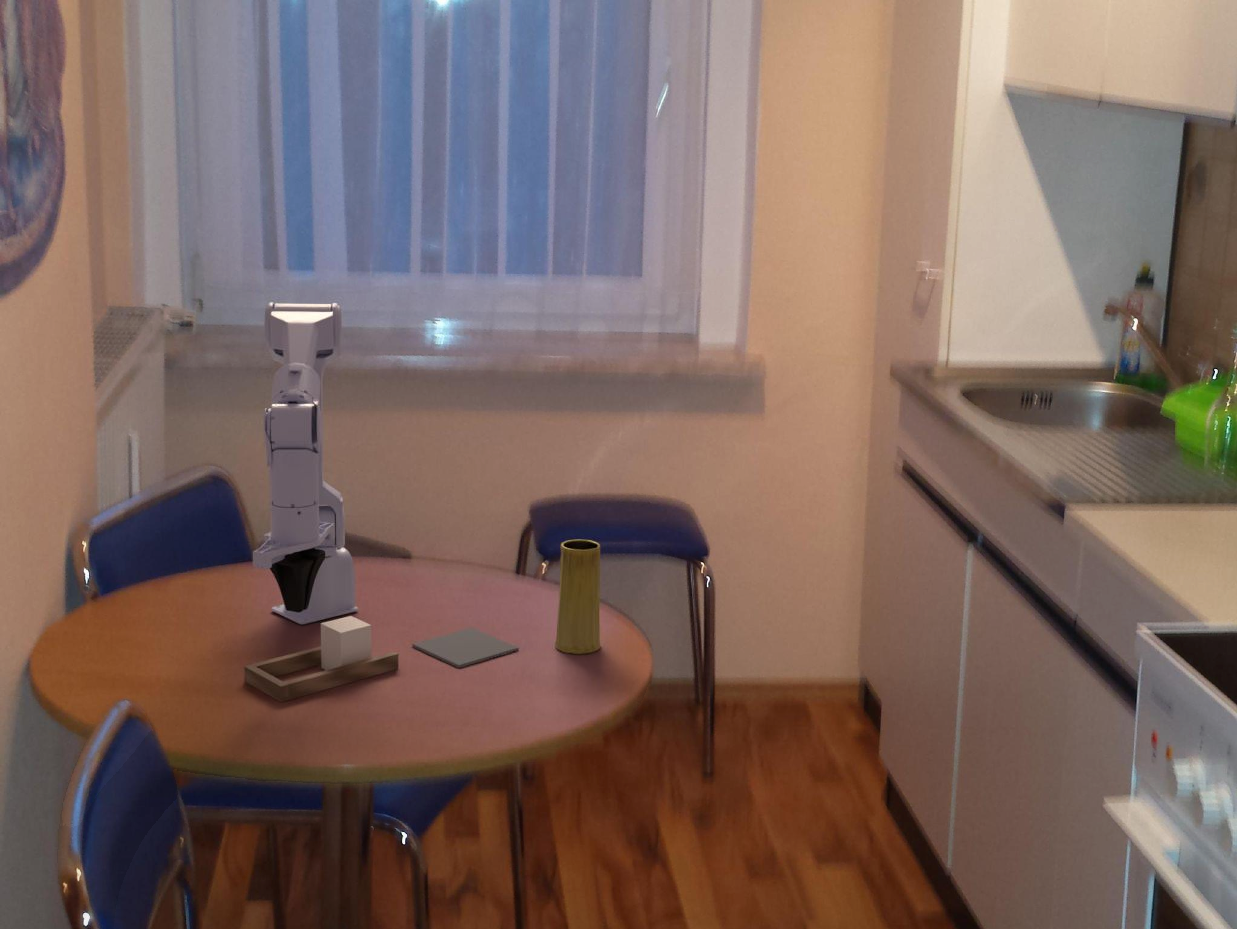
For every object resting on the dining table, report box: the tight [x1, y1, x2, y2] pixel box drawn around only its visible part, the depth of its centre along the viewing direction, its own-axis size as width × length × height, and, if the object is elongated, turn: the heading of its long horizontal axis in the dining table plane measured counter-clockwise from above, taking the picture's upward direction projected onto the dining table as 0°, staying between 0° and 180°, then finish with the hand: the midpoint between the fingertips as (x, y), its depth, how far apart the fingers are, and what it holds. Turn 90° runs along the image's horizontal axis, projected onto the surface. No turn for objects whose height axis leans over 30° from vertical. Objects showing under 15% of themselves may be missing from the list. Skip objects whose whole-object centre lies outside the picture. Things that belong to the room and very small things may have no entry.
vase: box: [554, 538, 602, 655], centre depth 189 cm, size 6×6×14 cm
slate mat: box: [411, 627, 520, 669], centre depth 189 cm, size 10×10×1 cm
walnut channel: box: [243, 645, 399, 703], centre depth 178 cm, size 17×8×2 cm, turn 134°
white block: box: [320, 615, 372, 671], centre depth 180 cm, size 4×4×6 cm
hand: (296, 609), depth 174 cm, fingers closed
